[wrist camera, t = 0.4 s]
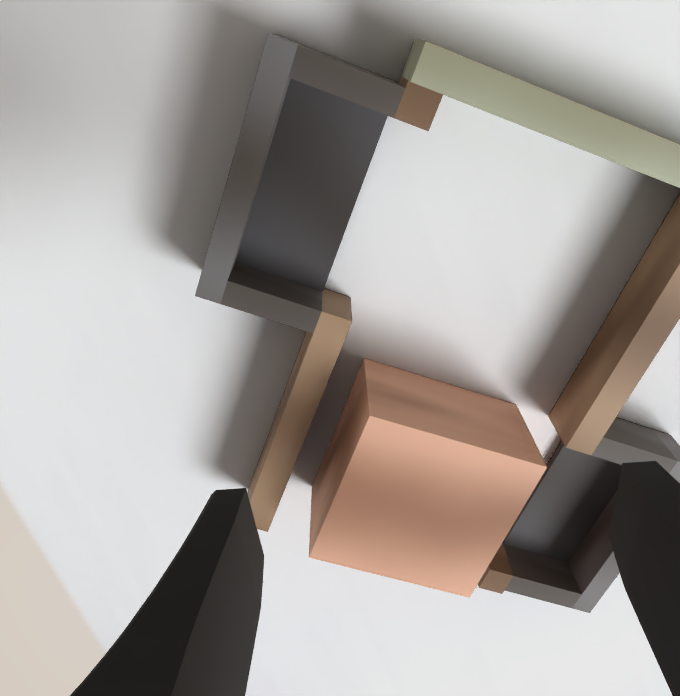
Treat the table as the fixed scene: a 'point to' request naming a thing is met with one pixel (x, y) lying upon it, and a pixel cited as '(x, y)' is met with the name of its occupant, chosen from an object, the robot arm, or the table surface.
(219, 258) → the trap box
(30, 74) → the table surface
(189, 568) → the robot arm
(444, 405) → the block
